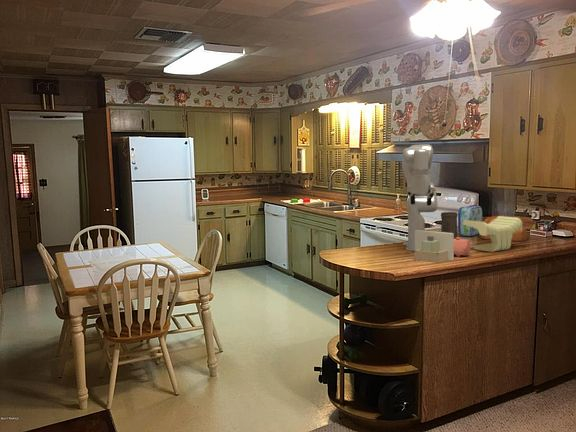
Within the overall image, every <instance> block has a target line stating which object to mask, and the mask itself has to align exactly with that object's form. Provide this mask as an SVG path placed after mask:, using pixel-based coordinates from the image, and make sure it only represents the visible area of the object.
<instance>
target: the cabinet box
mask: <svg viewBox="0 0 576 432" xmlns="http://www.w3.org/2000/svg"><path fill="white" fill-rule="evenodd" d="M422 251H428V252H436V253H437V252H439V241H438V240H434V237H433V236H427V240H425V241H422Z"/></svg>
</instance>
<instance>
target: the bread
mask: <svg viewBox="0 0 576 432" xmlns="http://www.w3.org/2000/svg"><path fill="white" fill-rule="evenodd" d="M498 216H499V215H492V216H488V217H487V218H485V219H484V221H483V222H484V223H487V224H489V223H490V222H492V221H493V220H495V219H497V217H498ZM503 216H504V217H508V216H507V215H503ZM515 217H516V218H519V219H520V220H521V221H522V231H515V232H514V233H512V239H511V242H524V241H526V240H527V239H528V235H527V234H528V232H527V228H526V226H527V225H526V222H525V220H524V219H523V218H522V217H517V216H515ZM480 236H481V237H480V238H481V239H483V240H491V238H490V236H489V235H487V236H484V235H480Z"/></svg>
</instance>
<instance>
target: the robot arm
mask: <svg viewBox="0 0 576 432" xmlns="http://www.w3.org/2000/svg"><path fill="white" fill-rule="evenodd" d="M433 157H434V149H433V146H432V145H431V144H429V143H427V144H426V143H425V144H422V143H421V144H413V145H412V144H411V146H409V147H405V148H404V149H403V151H402V161H401V169H402V173H403V175H404V177H405V179H406V182H407V183H406V185H407V188H406V189H405V190H406V192H407V194H408V196H409V197H408V198H407V200H406V203H405V204H406V211H407V235H408V236H407V238H408V239H407V241H403V243H402V244H403V246H405V250H406V251H411V252H414V250H415V230H421V231H426V230H425V229H426V226H425V224H426V223H425V222H426V220H425V218H424V216H422V214H421V213H435V212H436V211H437V210H438V198H437V197H438V196H437V189H436V186H435V184H434V183H433V182H432V181H431V178H430V175H429V170H430V169H431V168H432V165H433V164H432V163H433V159H434V158H433Z"/></svg>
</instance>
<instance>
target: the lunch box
mask: <svg viewBox="0 0 576 432" xmlns="http://www.w3.org/2000/svg"><path fill="white" fill-rule="evenodd" d="M457 215H458V216H457V233H458V234H459V236H460V237H461V236H462V237H475V236H478V235H480V234H479V231H478V229H475V228H473V227H470V226H467V225H463V220H470V221H480V222H483V209H482V207H481V206H480V205H477V204H471V205H468V206H462V207H461V206H460V207H459V208H458V212H457Z"/></svg>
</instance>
